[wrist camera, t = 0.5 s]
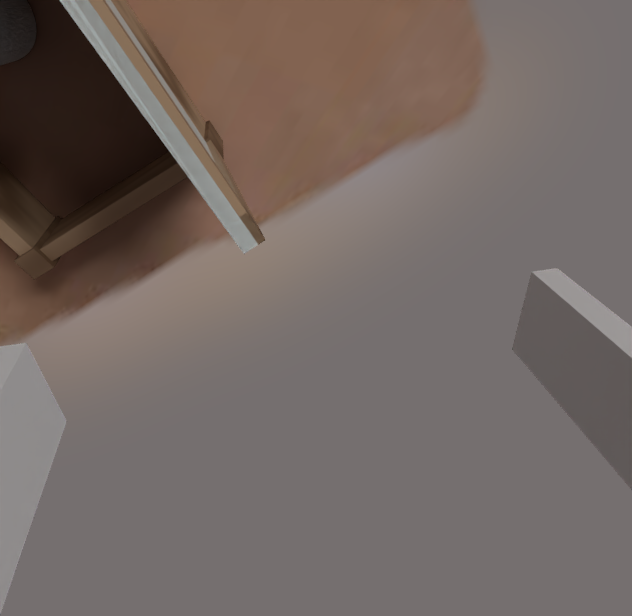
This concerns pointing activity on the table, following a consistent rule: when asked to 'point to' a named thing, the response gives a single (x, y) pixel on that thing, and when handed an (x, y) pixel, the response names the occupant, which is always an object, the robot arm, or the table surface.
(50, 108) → the table surface
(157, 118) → the lid
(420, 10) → the table surface
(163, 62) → the cold frame
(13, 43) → the grey cylindrical cup
